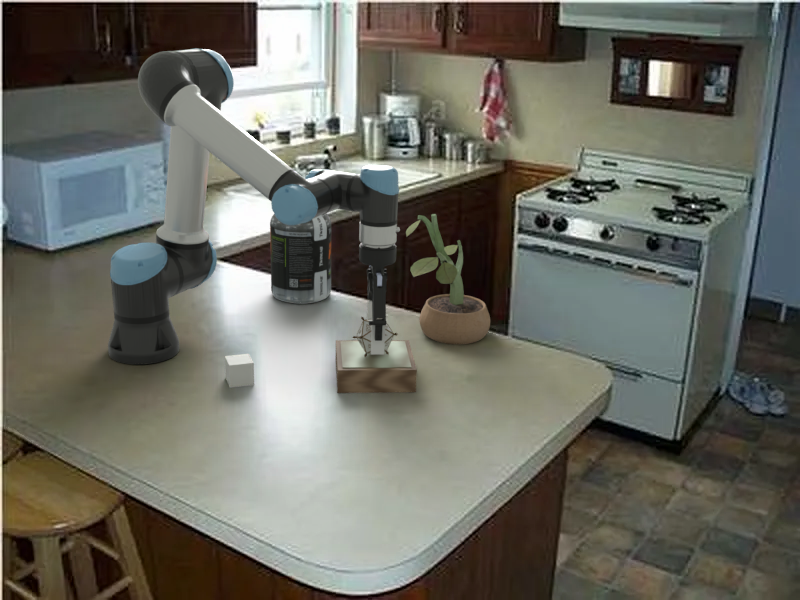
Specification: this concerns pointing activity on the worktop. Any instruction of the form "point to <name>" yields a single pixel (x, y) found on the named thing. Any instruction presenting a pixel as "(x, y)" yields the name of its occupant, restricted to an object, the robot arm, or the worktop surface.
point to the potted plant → (449, 295)
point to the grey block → (239, 370)
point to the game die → (365, 336)
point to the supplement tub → (301, 260)
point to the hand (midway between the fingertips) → (375, 341)
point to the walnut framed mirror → (375, 368)
